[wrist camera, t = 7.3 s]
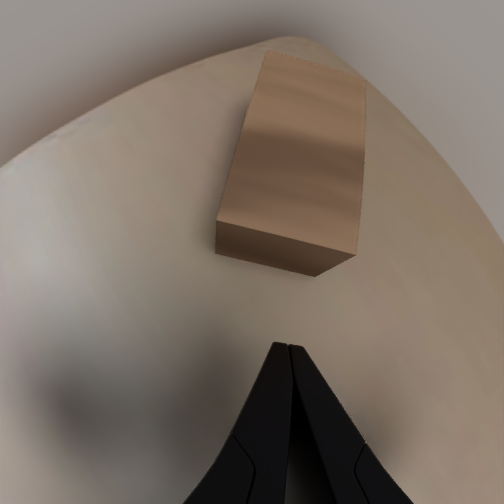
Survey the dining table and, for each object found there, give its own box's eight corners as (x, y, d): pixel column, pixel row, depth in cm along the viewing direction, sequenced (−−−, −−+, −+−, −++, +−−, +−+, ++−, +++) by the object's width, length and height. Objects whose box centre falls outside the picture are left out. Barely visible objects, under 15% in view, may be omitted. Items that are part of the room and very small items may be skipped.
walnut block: (356, 254, 11) (365, 80, 13) (216, 219, 10) (266, 50, 13) (313, 277, 16) (333, 132, 18) (215, 254, 15) (254, 110, 18)
